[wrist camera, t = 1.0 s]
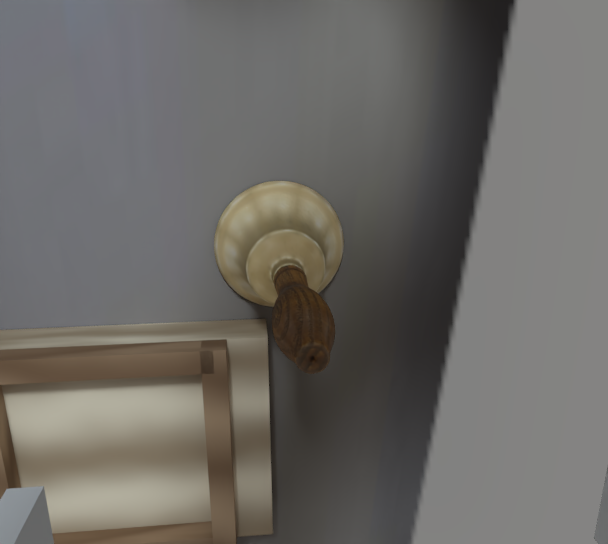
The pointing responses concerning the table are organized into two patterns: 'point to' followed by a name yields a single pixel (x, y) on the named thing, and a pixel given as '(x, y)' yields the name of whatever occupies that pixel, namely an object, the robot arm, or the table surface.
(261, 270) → the hand bell
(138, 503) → the stand
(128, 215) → the table surface
